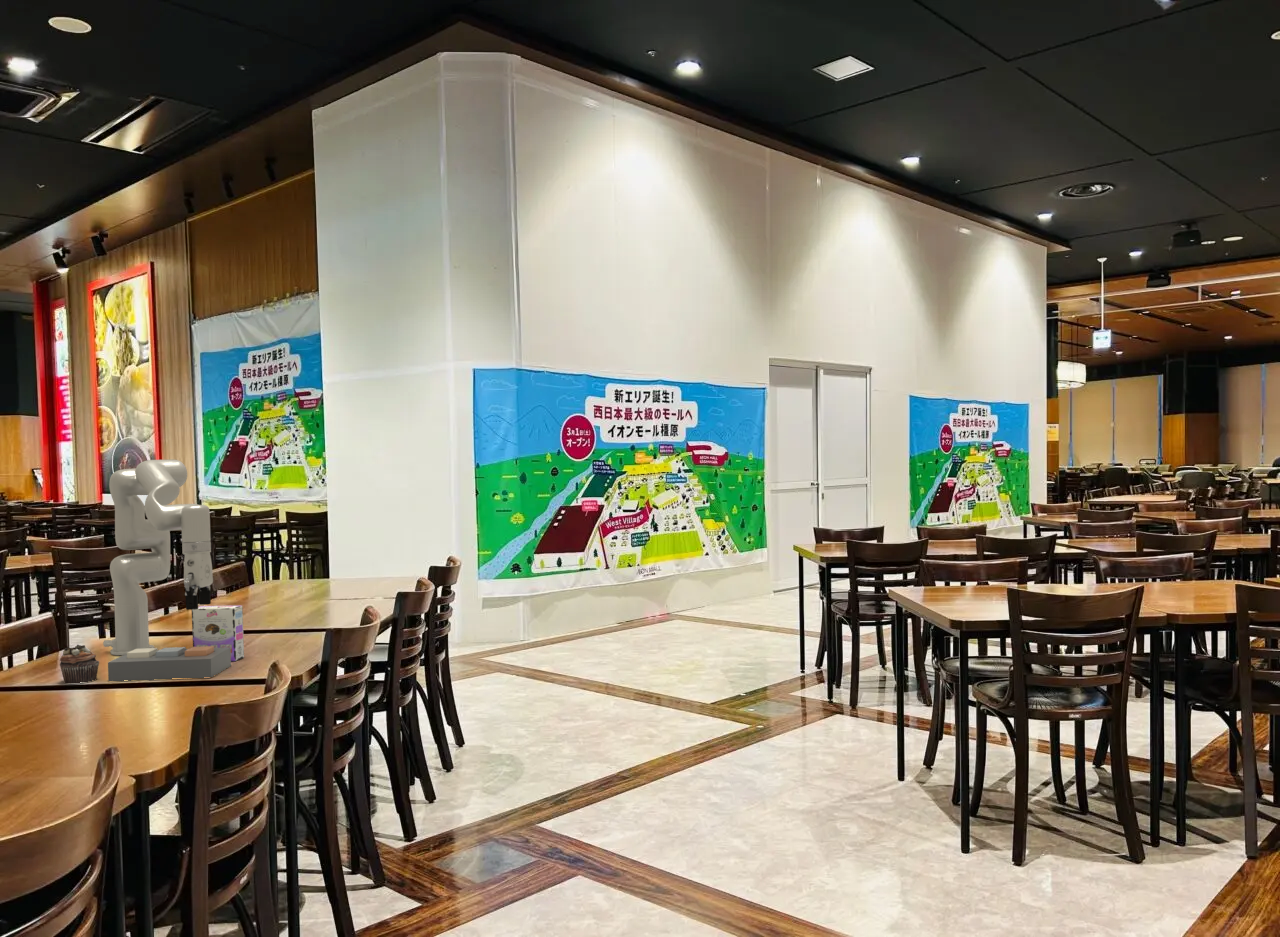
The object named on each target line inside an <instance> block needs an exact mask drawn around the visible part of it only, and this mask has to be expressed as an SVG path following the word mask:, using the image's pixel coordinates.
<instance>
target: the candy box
mask: <svg viewBox="0 0 1280 937" xmlns="http://www.w3.org/2000/svg"><path fill="white" fill-rule="evenodd" d="M243 609H244V608H243V605H200V606H198V609H194V610H191V627H192V628H191V629H192V631H191V632H192V647H203V646H214V648H230V647H231V662H236V661H239V660H241V659H244V658H245V647H244V646H245V644H244V643H245V642H244V619H243V618H244V614H243V611H244V610H243Z"/></svg>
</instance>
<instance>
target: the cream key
mask: <svg viewBox="0 0 1280 937" xmlns="http://www.w3.org/2000/svg"><path fill="white" fill-rule="evenodd" d="M158 650H159V649H158V647H154V648H143V649H134V650H132V651H130V652H128V653H127V658H150V657H152V656H154V655H156V652H157V651H158Z"/></svg>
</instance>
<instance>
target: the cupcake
mask: <svg viewBox="0 0 1280 937" xmlns="http://www.w3.org/2000/svg"><path fill="white" fill-rule="evenodd" d="M96 656H97V655H96V653H94V652H92V651H91V650H90V649H89V648H88V647H86V645H80V644H76V645H75V646H74V647H64V648H63V651H62V656H61V657H60V658H59V662H60V663H59V667H60V672H61V675H62V678H63V682H65V683H80V682H87V683H89V682H88V681H91V682H93V681H92V680H94V681H96V680H97V678H98V672H99V664H100V661H99V660H97V658H96ZM95 679H96V680H95ZM65 683H64V684H65ZM80 684H81V683H80Z"/></svg>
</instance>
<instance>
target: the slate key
mask: <svg viewBox="0 0 1280 937" xmlns="http://www.w3.org/2000/svg"><path fill="white" fill-rule="evenodd" d="M186 649H187V648H186V646H179V647H163V648H162V649H158V650H159V651H157V652H156V657H179V656H181V655H182V654H184V653H185V651H186Z"/></svg>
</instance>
